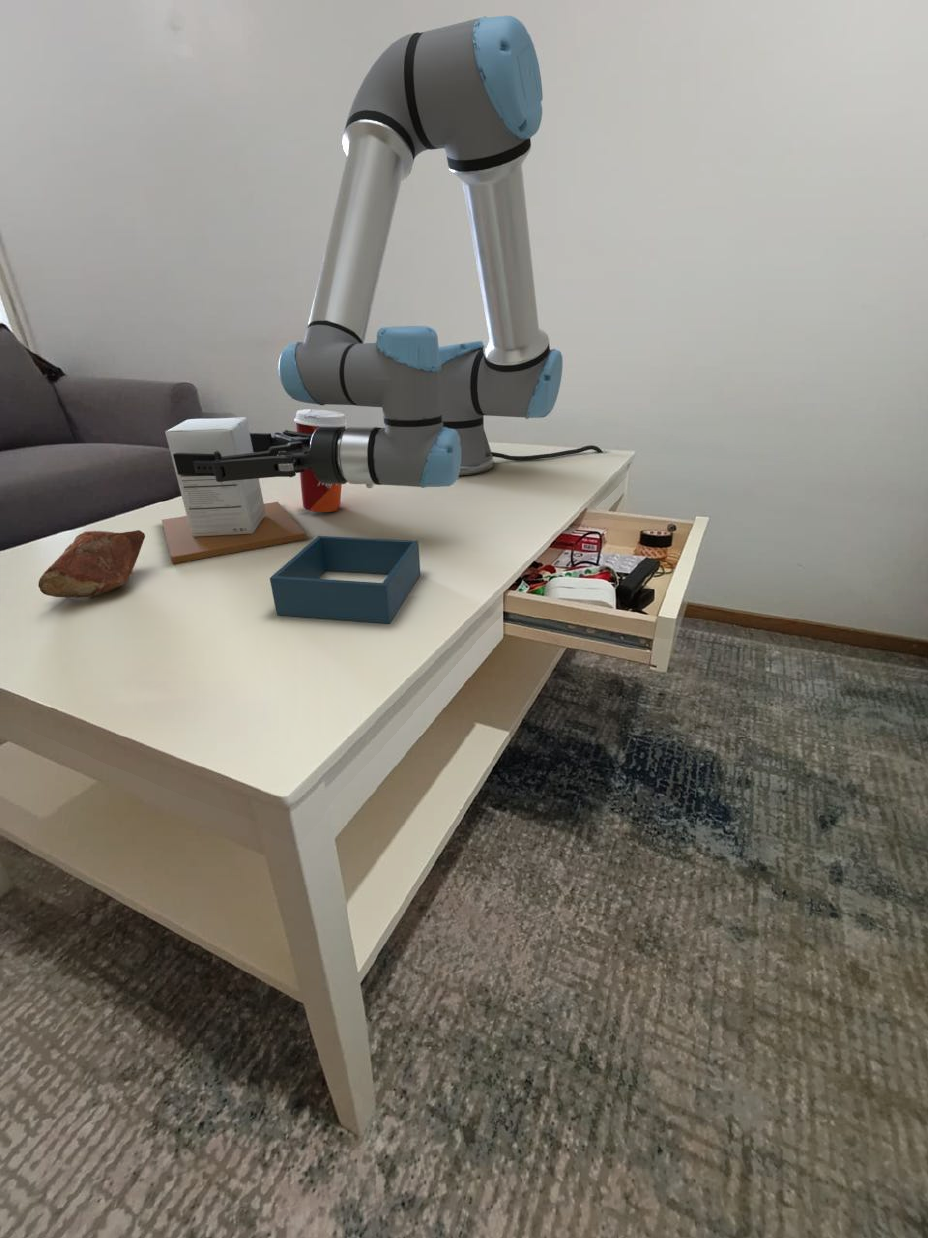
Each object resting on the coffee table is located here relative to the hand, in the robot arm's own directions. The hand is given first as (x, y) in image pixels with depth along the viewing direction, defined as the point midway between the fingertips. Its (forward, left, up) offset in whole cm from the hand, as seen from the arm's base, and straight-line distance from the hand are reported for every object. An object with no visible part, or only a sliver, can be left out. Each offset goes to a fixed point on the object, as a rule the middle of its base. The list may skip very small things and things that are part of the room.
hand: (206, 452), depth 84 cm
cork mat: (-1, +1, -12) cm, 12 cm away
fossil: (+16, +14, -12) cm, 25 cm away
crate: (-10, +31, -12) cm, 35 cm away
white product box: (-1, +1, -11) cm, 11 cm away
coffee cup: (-16, -3, -12) cm, 20 cm away
